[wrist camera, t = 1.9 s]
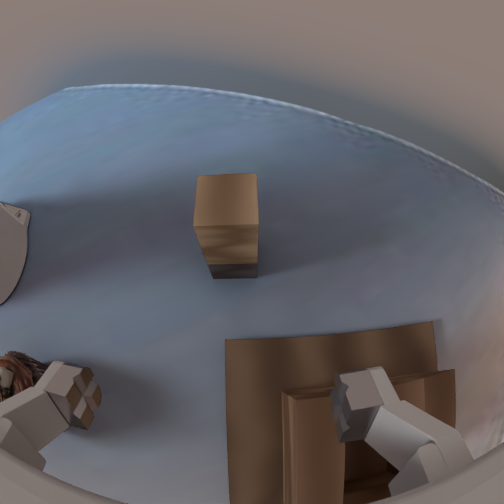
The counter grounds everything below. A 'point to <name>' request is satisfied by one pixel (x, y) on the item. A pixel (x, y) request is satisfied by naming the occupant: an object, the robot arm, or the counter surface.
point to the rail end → (228, 224)
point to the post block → (319, 413)
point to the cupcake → (18, 373)
